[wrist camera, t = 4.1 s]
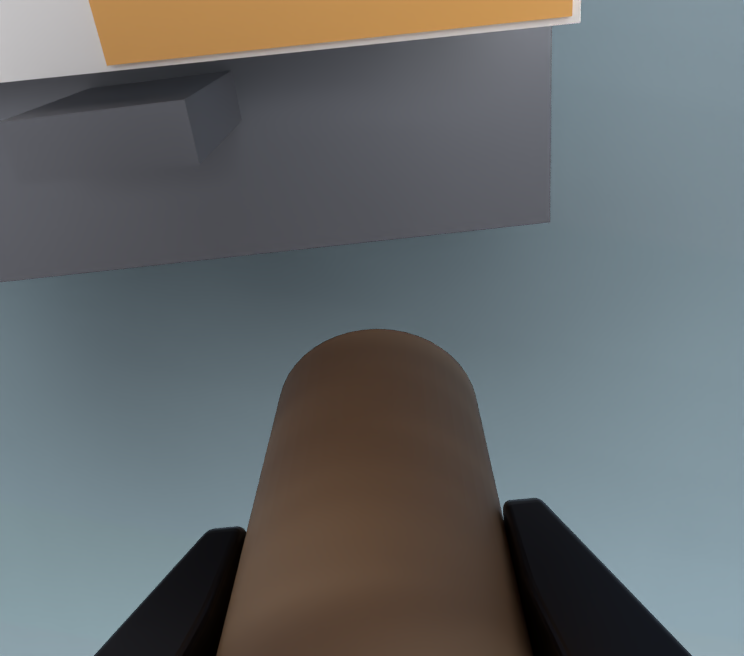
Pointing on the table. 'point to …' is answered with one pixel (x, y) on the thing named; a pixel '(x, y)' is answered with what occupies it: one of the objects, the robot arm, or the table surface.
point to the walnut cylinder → (376, 514)
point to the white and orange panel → (235, 29)
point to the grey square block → (274, 153)
